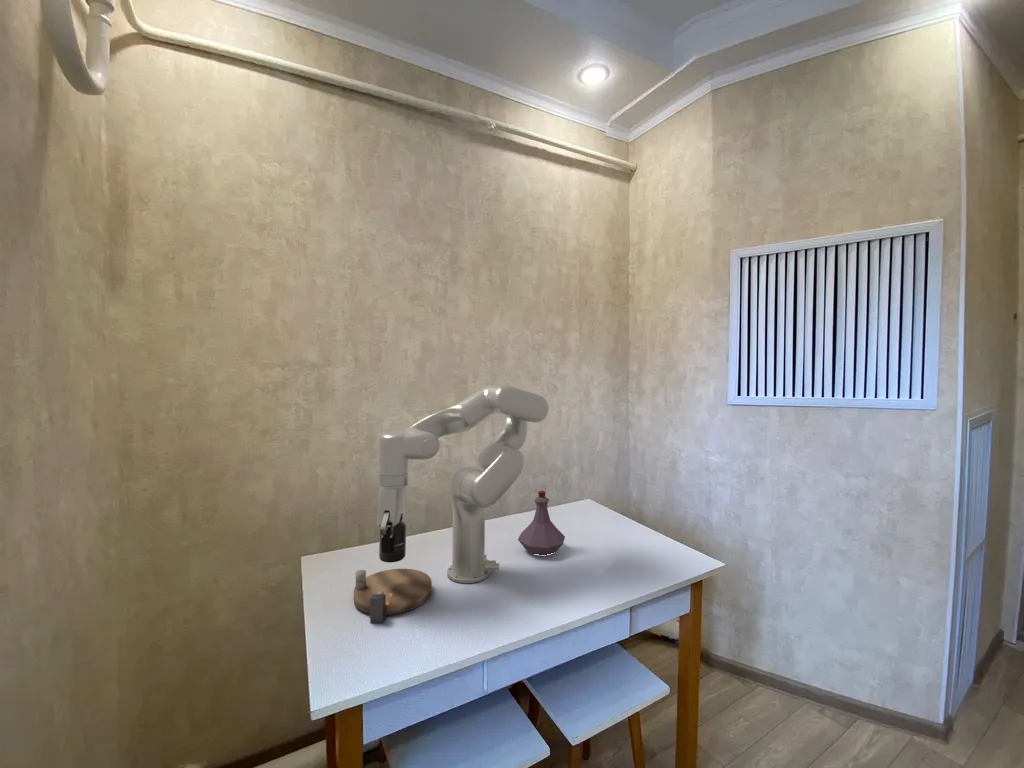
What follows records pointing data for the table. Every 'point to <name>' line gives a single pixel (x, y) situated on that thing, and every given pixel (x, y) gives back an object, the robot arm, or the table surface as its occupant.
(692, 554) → the table surface
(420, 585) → the disc
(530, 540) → the flask
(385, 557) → the supplement bottle
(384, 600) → the index pointer
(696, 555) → the table surface
